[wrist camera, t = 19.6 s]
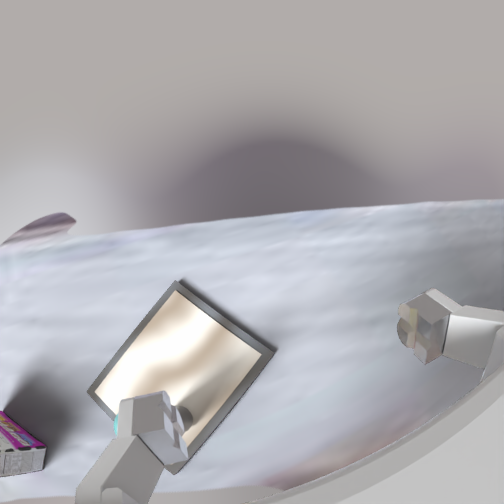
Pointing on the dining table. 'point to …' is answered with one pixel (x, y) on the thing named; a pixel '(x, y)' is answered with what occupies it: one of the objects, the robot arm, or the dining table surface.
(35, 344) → the dining table surface
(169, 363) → the framed mirror
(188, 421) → the ball
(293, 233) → the dining table surface
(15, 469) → the candy bar box
